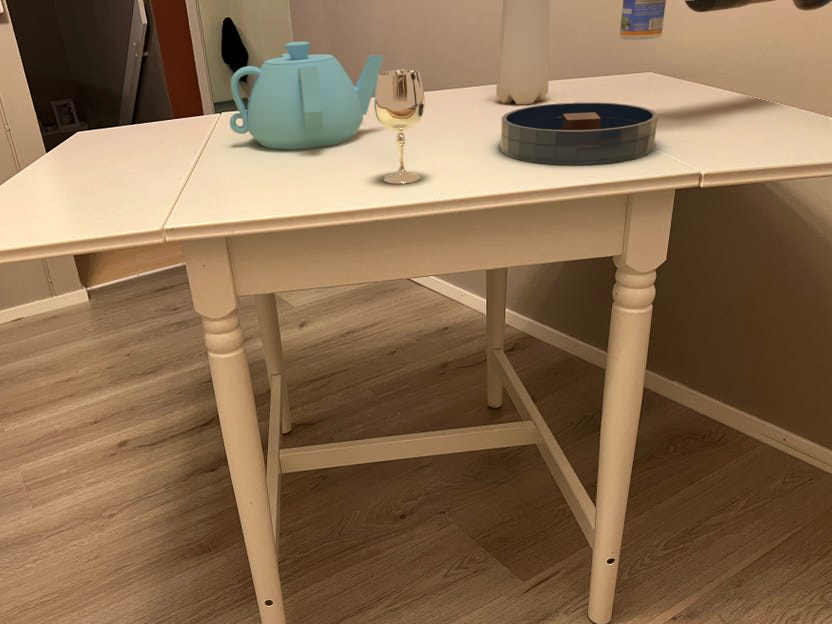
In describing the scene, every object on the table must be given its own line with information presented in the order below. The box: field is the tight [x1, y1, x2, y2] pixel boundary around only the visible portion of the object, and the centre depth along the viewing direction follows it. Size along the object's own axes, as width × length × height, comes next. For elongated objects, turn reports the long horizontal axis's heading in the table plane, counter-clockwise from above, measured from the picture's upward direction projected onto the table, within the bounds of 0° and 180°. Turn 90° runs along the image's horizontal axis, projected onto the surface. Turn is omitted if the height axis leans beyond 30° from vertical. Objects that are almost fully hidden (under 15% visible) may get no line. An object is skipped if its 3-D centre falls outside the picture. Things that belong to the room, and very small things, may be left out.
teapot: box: [229, 41, 384, 150], centre depth 107 cm, size 19×19×14 cm
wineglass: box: [374, 68, 426, 185], centre depth 82 cm, size 6×6×12 cm
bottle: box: [495, 0, 551, 105], centre depth 119 cm, size 9×9×30 cm
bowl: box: [500, 101, 659, 166], centre depth 92 cm, size 19×19×4 cm
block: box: [562, 112, 601, 130], centre depth 89 cm, size 4×4×4 cm
